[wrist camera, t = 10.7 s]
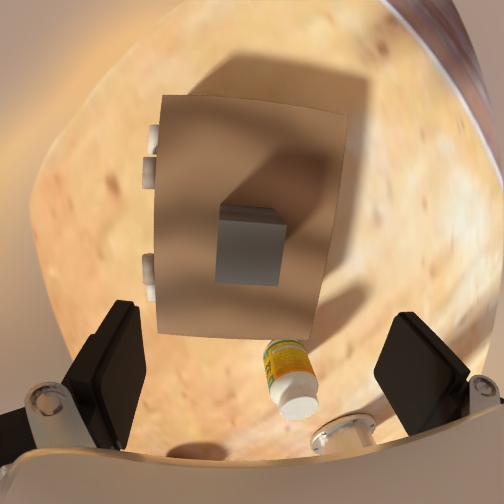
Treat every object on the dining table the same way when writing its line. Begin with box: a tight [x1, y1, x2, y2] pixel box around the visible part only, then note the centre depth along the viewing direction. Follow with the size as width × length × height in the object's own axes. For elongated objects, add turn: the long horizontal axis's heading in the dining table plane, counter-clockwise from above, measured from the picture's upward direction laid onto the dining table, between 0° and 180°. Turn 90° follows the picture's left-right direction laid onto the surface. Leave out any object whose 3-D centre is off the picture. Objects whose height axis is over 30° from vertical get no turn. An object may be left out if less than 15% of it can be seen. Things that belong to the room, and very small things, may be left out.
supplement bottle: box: [263, 340, 319, 420], centre depth 30 cm, size 5×5×10 cm
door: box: [142, 95, 348, 340], centre depth 20 cm, size 20×15×6 cm
